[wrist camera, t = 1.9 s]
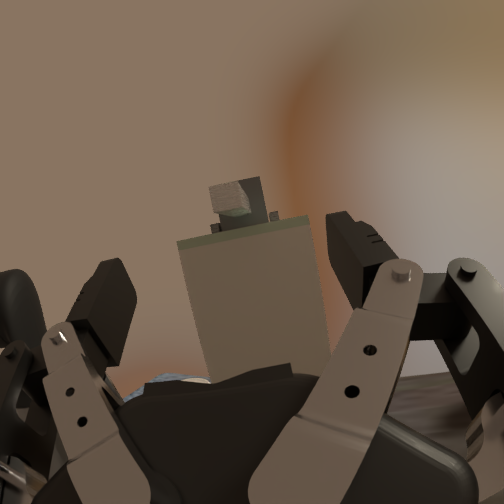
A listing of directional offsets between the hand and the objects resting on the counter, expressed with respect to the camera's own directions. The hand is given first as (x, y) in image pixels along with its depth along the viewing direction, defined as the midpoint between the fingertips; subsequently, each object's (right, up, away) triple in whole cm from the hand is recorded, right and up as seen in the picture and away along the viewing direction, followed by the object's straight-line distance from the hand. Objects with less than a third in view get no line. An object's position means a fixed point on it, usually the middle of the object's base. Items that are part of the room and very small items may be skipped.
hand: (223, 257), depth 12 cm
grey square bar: (0, +3, +24) cm, 24 cm away
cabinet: (+7, -28, +31) cm, 42 cm away
